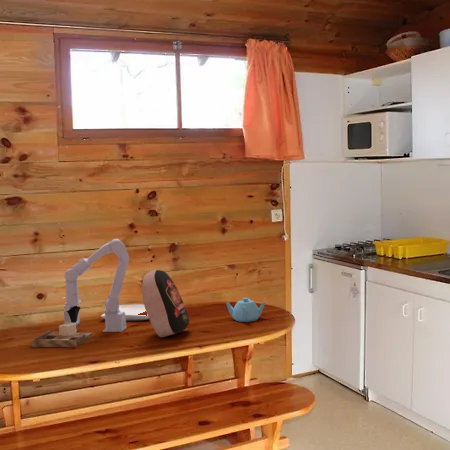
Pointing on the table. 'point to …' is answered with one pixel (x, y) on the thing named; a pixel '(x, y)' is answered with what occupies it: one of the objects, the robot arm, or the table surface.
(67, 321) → the medicine box
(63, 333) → the cream block
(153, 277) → the packaged food
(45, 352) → the table surface
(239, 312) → the teapot
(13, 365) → the table surface
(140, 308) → the square plate
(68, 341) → the trap tray
